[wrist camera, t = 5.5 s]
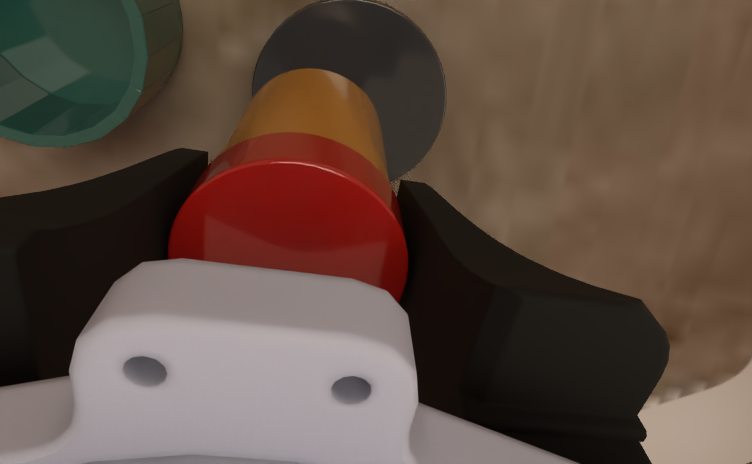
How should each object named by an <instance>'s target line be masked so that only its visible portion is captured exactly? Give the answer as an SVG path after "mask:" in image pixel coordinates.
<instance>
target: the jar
mask: <svg viewBox="0 0 752 464" xmlns="http://www.w3.org/2000/svg"><path fill="white" fill-rule="evenodd" d="M180 258H185V259H193V260H201V261H210V262H218V263H227V264H235V265H243V266H252V267H260V268H269V269H277V270H285V271H294V272H302V273H311V274H319V275H328V276H336V277H344V278H352V279H355V280H358V281H361V282H364V283H366V284H369V285H372V286H375V287H378V288H381V289H384V290H386V291H388V292H389V294H390V295H391V296H392V297H393V298H394V299H395V300H396V302H397V303H399V301H400V299H401V297H402V295H403V292H404V290H405V286H406V283H407V279H408V271H409V253H408V247H407V242H406V236H405V230H404V225H403V219H402V214H401V209H400V206H399V203H398V200H397V198H396V195H395V193H394V191H393V190H392V188H391V186H390V180H389V174H388V167H387V161H386V155H385V148H384V142H383V135H382V129H381V124H380V120H379V117H378V114H377V111H376V109H375V107H374V105H373V104H372V102H371V101H370V99H369V98H368V96H367V95H366V94H365V93H364V92H363V91H362V90H361V89H360V88H359V87H358V86H357V85H356V84H354V83H353V82H351V81H350V80H348V79H347V78H345V77H343V76H341V75H339V74H337V73H334V72H331V71H327V70H322V69H312V68H306V69H297V70H292V71H289V72H286V73H283V74H281V75H279V76H277V77H275V78H273V79H272V80H270V81H269V82H267V83H266V84H265V85H264V86H263V87H262V88H261V89H260V90H259V91H258V92H257V93H256V95H255V96H254V97H253V99H252V101H251V102H250V104H249V106H248V108H247V109H246V111H245V113H244V115H243V116H242V118H241V120H240V122H239V123H238V125H237V127H236V129H235V130H234V132H233V134H232V136H231V137H230V139H229V141H228V143H227V144H226V146H225V148H224V150H223V151H222V153H221V154H220V155H219V156H217V157H216V158H215V159H214V160H213V161H212V162H211V163H210V164H209V165H208V166H207V167H206V168H205V170H204V171H203V172H202V174H201V175H200V176H199V178H198V179H197V181H196V183H195V184H194V186H193V188H192V189H191V191H190V193H189V194H188V196H187V198H186V199H185V201H184V202H183V204H182V206H181V208H180V209H179V211H178V213H177V215H176V217H175V219H174V221H173V224H172V227H171V230H170V234H169V240H168V260H170V259H180Z"/></svg>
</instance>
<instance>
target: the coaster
mask: <svg viewBox="0 0 752 464" xmlns="http://www.w3.org/2000/svg"><path fill="white" fill-rule="evenodd" d="M306 68H312V69H322V70H327V71H331V72H334V73H337V74H339V75H341V76H343V77H345V78H347V79H348V80H350V81H351V82H353V83H354V84H356V85H357V86H358V87H359V88H360V89H361V90H362V91H363V92H364V93H365V94H366V95H367V96H368V98H369V99H370V101H371V102H372V104H373V105H374V107H375V109H376V111H377V114H378V117H379V120H380V124H381V129H382V135H383V142H384V148H385V155H386V161H387V167H388V174H389V180H390V182H391V181H393V180H395V179H397V178H399V177H400V176H402V175H404V174H405V173H407V172H408V171H409V170H410V169H412V168H413V167H414V166H415V165H416V164H417V163H418V162H419V161H420V160H421V159H422V158H423V157H424V156H425V155H426V153H427V152H428V151H429V149H430V148H431V146H432V145H433V143H434V141H435V139H436V138H437V135H438V133H439V131H440V128H441V125H442V122H443V118H444V114H445V107H446V84H445V76H444V73H443V69H442V65H441V62H440V60H439V58H438V55H437V53H436V51H435V49H434V48H433V46H432V44H431V42H430V41H429V39H428V38H427V37H426V35H425V34H424V33H423V32H422V30H421V29H420V28H419V27H418V26H417V25H416V24H415V23H414V22H413V21H412V20H411V19H409V18H408V17H407V16H405V15H404V14H403V13H401V12H400V11H398V10H396V9H394V8H393V7H391V6H389V5H387V4H384V3H381V2H379V1H376V0H320V1H318V2H315V3H312V4H310V5H307V6H305V7H304V8H302V9H300V10H298V11H296V12H295V13H294V14H292V15H291V16H290V17H288V18H287V19H286V20H285V21H284V22H283V23H282V24H281V25H280V26H279V27H278V28H277V29H276V30H275V31H274V33H273V34H272V35H271V37H270V38H269V40H268V41H267V42H266V44H265V46H264V48H263V50H262V52H261V54H260V56H259V59H258V62H257V64H256V68H255V72H254V77H253V85H252V99H253V97H254V96H255V95H256V93H257V92H258V91H259V90H260V89H261V88H262V87H263V86H264V85H265V84H266V83H267V82H269V81H270V80H272V79H273V78H275V77H277V76H279V75H281V74H283V73H286V72H289V71H292V70H297V69H306Z"/></svg>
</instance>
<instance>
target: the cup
mask: <svg viewBox="0 0 752 464" xmlns="http://www.w3.org/2000/svg"><path fill="white" fill-rule="evenodd" d="M181 44H182V17H181V10H180V6H179V2H178V0H0V137H4V138H7V139H10V140H13V141H17V142H20V143H23V144H27V145H30V146H40V147H73V146H76V145H80V144H83V143H87V142H91V141H94V140H98V139H100V138H103V137H104V136H105V135H107V134H108V133H109V132H111V131H112V130H113V129H115V128H116V127H117V126H119V125H120V124H121V123H123V122H124V121H125V120H127V119H128V118H129V117H130V116H131V115H132V114H133V113H135V112H136V111H137V110H138V109H139V108H140V107H142V106H143V105H144V104H145V103H146V102H147V101H149V100H150V99H151V98H152V97H153V96H154V95H156V94H157V93H158V92H159V91H160V90H161V88H162V87H163V85H164V84H165V83H166V82H167V80H168V79H169V77H170V76H171V74H172V72H173V70H174V68H175V66H176V64H177V61H178V58H179V54H180V50H181Z"/></svg>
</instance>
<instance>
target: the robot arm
mask: <svg viewBox="0 0 752 464" xmlns="http://www.w3.org/2000/svg"><path fill="white" fill-rule="evenodd" d="M207 166H208V152H206V151H199V150H192V149H185V148H179V149H175V150H172V151H169V152H166V153H163V154H161V155H158V156H156V157H153V158H150V159H148V160H145V161H143V162H140V163H138V164H135V165H132V166H130V167H127V168H124V169H121V170H118V171H116V172H113V173H110V174H107V175H104V176H101V177H98V178H95V179H91V180H88V181H85V182H81V183H77V184H73V185H69V186H64V187H60V188H56V189H51V190H46V191H41V192H34V193H27V194H21V195H14V196H7V197H1V198H0V464H652V463H651V461H650V460H649V458H648V456H647V454H646V453H645V451H644V449H643V447H642V446H641V444H640V442H643V441H644V440H645V438H646V437H647V435H646V429H645V428H644V426H643V424H642V423H641V421H640V419H639V418H638V416H637V415H638V413H639V412H640V410H641V409H642V407H643V405H644V404H645V402H646V401H647V399H648V397H649V396H650V394H651V393H652V391H653V389H654V388H655V386H656V385H657V383H658V381H659V380H660V378H661V377H662V374H663V372H664V370H665V368H666V365H667V363H668V360H669V349H670V345H669V342H668V338H667V335H666V332H665V331H664V329H663V328H662V327H661V325H660V324H659V323H658V321H657V320H656V319H655V317H654V316H653V315H652V313H651V312H650V311H649V310H648V308H647V307H646V306H645V304H644V303H643V302H642V300H641V299H638V298H634V297H631V296H627V295H624V294H620V293H617V292H613V291H610V290H606V289H603V288H599V287H596V286H593V285H590V284H587V283H584V282H581V281H579V280H576V279H573V278H571V277H568V276H565V275H563V274H560V273H558V272H556V271H553V270H551V269H549V268H547V267H544V266H542V265H540V264H538V263H536V262H534V261H532V260H530V259H528V258H526V257H524V256H522V255H520V254H518V253H517V252H515V251H513V250H511V249H510V248H508V247H507V246H505V245H503V244H502V243H500V242H498V241H497V240H495V239H494V238H492V237H491V236H489V235H488V234H486V233H485V232H484V231H482V230H481V229H480V228H478V227H477V226H476V225H474V224H473V223H472V222H471V221H469V220H468V219H467V218H466V217H464V216H463V215H462V214H461V213H460V212H458V211H457V210H456V209H455V208H454V207H453V206H452V205H450V204H449V203H448V202H447V201H446V200H445V199H444V198H443V197H441V196H440V195H439V194H438V193H437V192H436V191H435V190H433V189H432V188H431V187H430V186H428V185H427V184H425V183H420V182H413V181H406V180H401V181H400V186H399V190H398V195H397V200H398V203H399V206H400V209H401V214H402V219H403V225H404V230H405V236H406V242H407V247H408V253H409V271H408V279H407V283H406V286H405V290H404V292H403V295H402V297H401V299H400V301H399V303H397V302H396V300H395V299H394V298H393V297H392V296H391V295H390V294H389V292H388V291H386V290H384V289H381V288H378V287H375V286H372V285H369V284H366V283H364V282H361V281H358V280H355V279H352V278H344V277H336V276H328V275H319V274H311V273H302V272H294V271H285V270H277V269H269V268H260V267H252V266H243V265H235V264H227V263H218V262H210V261H201V260H193V259H185V258H180V259H170V260H168V240H169V234H170V230H171V227H172V224H173V221H174V219H175V217H176V215H177V213H178V211H179V209H180V208H181V206H182V204H183V202H184V201H185V199H186V198H187V196H188V194H189V193H190V191H191V189H192V188H193V186H194V184H195V183H196V181H197V179H198V178H199V176H200V175H201V174H202V172H203V171H204V170H205V168H206V167H207ZM639 441H640V442H639ZM747 464H752V462H749V463H747Z"/></svg>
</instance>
